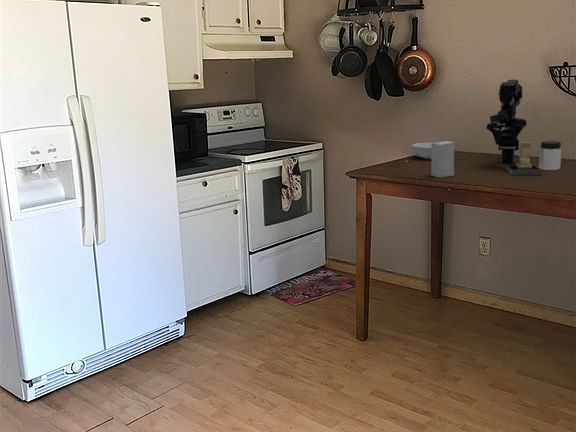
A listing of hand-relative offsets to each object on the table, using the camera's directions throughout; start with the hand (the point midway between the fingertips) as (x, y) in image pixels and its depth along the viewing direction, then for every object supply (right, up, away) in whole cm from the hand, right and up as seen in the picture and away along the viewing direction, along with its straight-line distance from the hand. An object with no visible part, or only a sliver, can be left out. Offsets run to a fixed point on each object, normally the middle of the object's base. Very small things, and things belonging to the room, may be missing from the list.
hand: (504, 143), depth 287 cm
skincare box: (-30, -15, -7) cm, 34 cm away
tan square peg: (+5, -13, -8) cm, 17 cm away
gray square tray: (+5, -14, -8) cm, 17 cm away
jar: (+20, -12, -1) cm, 23 cm away
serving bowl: (-23, -3, +41) cm, 47 cm away
